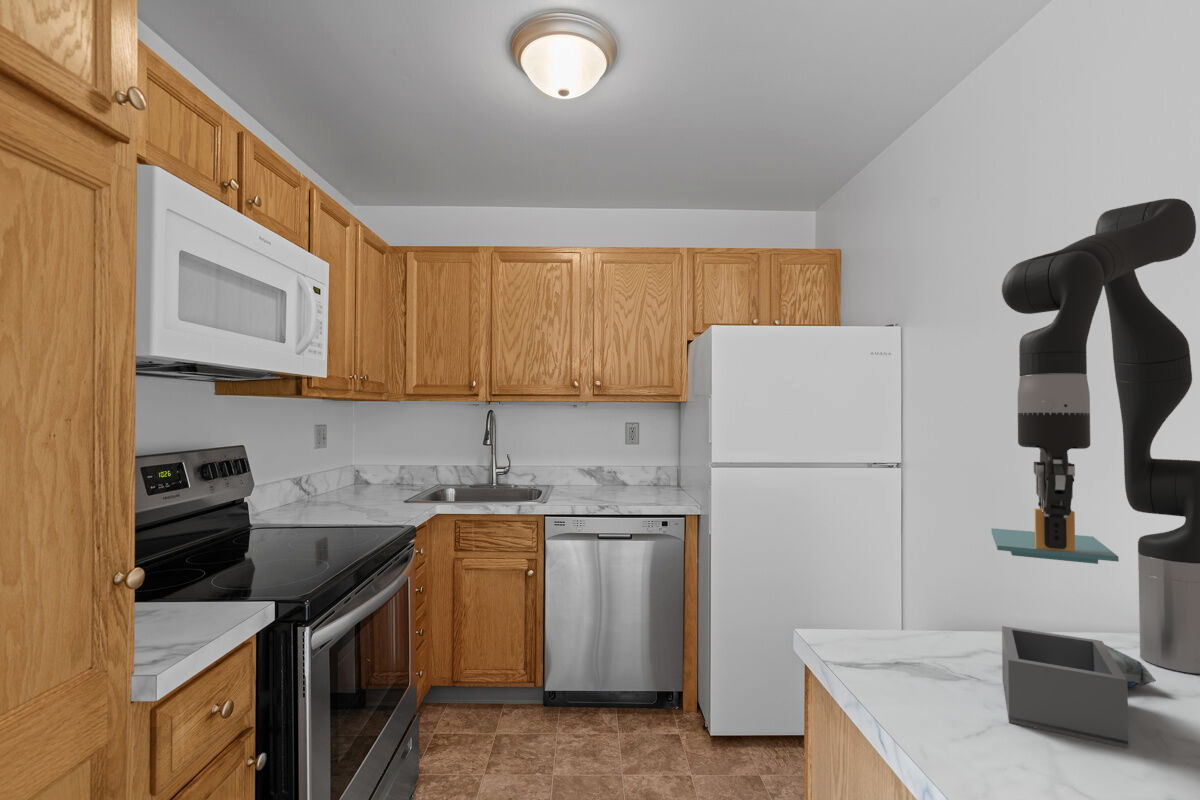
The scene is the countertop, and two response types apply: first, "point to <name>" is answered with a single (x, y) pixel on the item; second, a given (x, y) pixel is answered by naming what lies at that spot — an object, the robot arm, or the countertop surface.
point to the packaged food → (1131, 669)
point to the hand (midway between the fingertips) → (1054, 546)
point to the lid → (1035, 547)
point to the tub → (1064, 685)
